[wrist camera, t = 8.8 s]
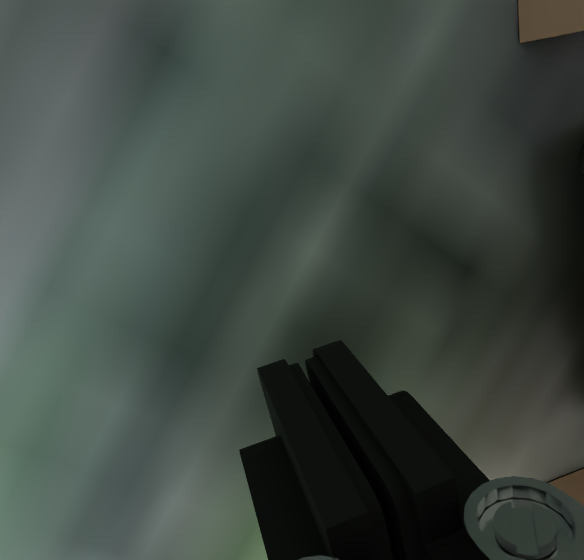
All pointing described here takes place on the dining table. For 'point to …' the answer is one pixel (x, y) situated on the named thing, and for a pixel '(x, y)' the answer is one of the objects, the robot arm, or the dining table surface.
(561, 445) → the dining table surface
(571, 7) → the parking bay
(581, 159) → the beige rectangular block
